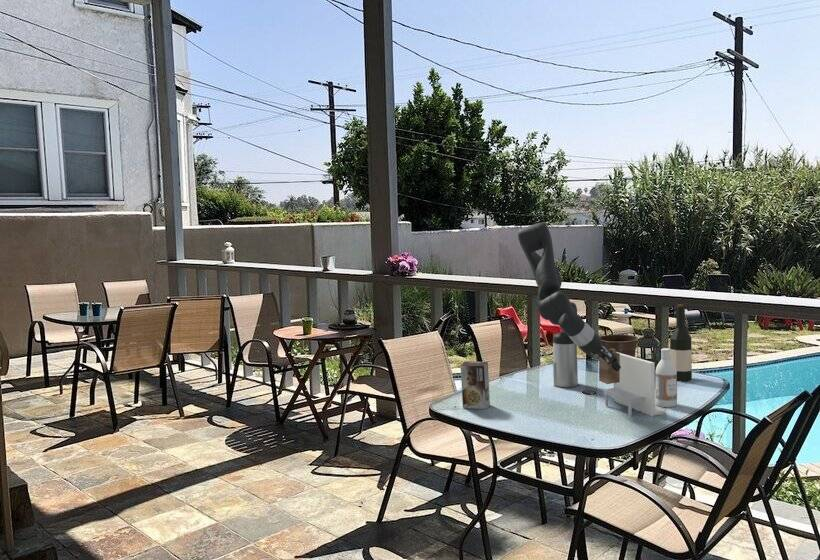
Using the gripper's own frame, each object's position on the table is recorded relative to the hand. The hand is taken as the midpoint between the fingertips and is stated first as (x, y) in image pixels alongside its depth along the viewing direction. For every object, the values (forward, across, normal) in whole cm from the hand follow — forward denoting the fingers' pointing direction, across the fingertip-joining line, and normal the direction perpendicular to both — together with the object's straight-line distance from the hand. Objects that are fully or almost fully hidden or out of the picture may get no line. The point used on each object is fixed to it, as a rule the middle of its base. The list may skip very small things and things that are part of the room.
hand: (614, 367), depth 234 cm
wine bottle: (+45, -20, +23) cm, 54 cm away
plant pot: (+33, -37, +10) cm, 51 cm away
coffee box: (-15, -30, -39) cm, 51 cm away
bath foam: (+25, +3, +3) cm, 25 cm away
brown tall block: (+2, 0, -5) cm, 5 cm away
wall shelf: (+16, +1, -6) cm, 17 cm away
